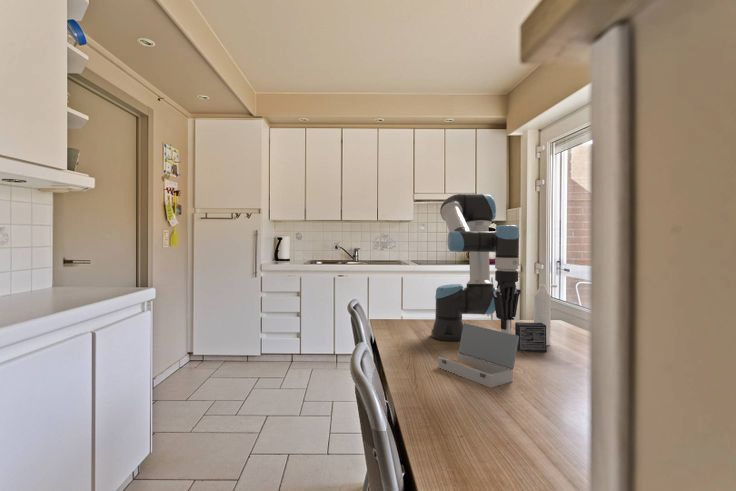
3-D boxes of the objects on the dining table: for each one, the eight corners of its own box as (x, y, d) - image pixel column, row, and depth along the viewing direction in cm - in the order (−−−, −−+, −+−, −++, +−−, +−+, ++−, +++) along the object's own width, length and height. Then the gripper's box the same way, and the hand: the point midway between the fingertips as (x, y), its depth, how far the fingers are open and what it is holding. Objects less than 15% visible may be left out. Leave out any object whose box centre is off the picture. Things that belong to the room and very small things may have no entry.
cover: (463, 323, 142) (465, 323, 143) (458, 352, 141) (460, 352, 141) (517, 335, 124) (519, 336, 124) (511, 369, 122) (513, 369, 123)
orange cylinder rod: (446, 368, 136) (445, 360, 136) (453, 365, 138) (451, 357, 137) (469, 377, 128) (467, 368, 127) (475, 373, 129) (474, 364, 129)
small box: (541, 348, 162) (541, 322, 162) (547, 352, 155) (547, 325, 155) (514, 347, 163) (514, 321, 163) (518, 351, 156) (519, 324, 156)
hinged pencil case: (437, 367, 135) (437, 357, 135) (459, 362, 141) (459, 352, 141) (490, 388, 117) (490, 376, 117) (512, 381, 123) (512, 369, 123)
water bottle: (534, 345, 166) (535, 284, 166) (532, 341, 172) (533, 283, 172) (557, 346, 164) (558, 285, 163) (555, 343, 170) (556, 284, 169)
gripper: (503, 271, 131) (502, 343, 131) (527, 270, 138) (527, 338, 138) (485, 269, 137) (484, 338, 137) (509, 268, 144) (508, 334, 145)
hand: (505, 338), depth 138 cm, fingers closed
